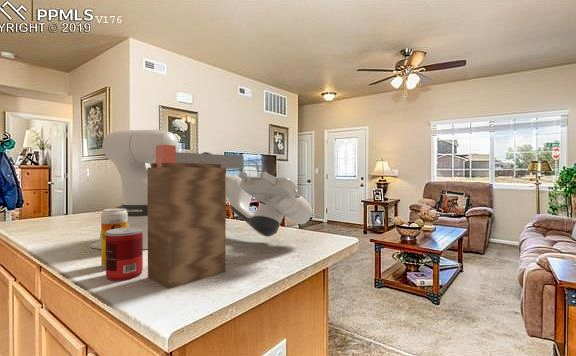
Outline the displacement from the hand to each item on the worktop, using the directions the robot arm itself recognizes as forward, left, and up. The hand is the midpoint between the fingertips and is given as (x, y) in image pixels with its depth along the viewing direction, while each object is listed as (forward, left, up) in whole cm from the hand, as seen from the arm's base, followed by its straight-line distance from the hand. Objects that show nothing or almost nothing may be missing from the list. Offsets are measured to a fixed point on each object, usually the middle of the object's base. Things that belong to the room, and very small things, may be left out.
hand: (251, 173), depth 88 cm
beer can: (-33, -15, -25) cm, 44 cm away
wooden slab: (-10, -17, -25) cm, 32 cm away
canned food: (-25, -21, -25) cm, 41 cm away
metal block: (-8, -13, +1) cm, 16 cm away
